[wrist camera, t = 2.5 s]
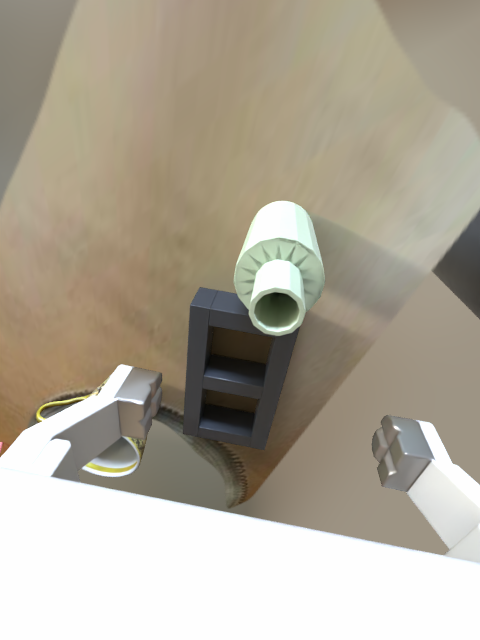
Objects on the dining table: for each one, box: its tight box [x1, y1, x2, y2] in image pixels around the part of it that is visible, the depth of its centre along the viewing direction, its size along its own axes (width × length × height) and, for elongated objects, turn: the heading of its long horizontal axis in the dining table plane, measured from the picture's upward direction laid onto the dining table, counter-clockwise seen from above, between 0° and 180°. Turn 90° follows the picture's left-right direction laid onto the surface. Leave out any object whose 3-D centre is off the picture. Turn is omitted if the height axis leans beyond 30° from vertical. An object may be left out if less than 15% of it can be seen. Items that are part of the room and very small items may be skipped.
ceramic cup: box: [36, 375, 147, 477], centre depth 39 cm, size 13×10×10 cm
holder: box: [183, 287, 300, 450], centre depth 37 cm, size 11×20×4 cm, turn 172°
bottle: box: [234, 201, 325, 336], centre depth 23 cm, size 6×6×15 cm
